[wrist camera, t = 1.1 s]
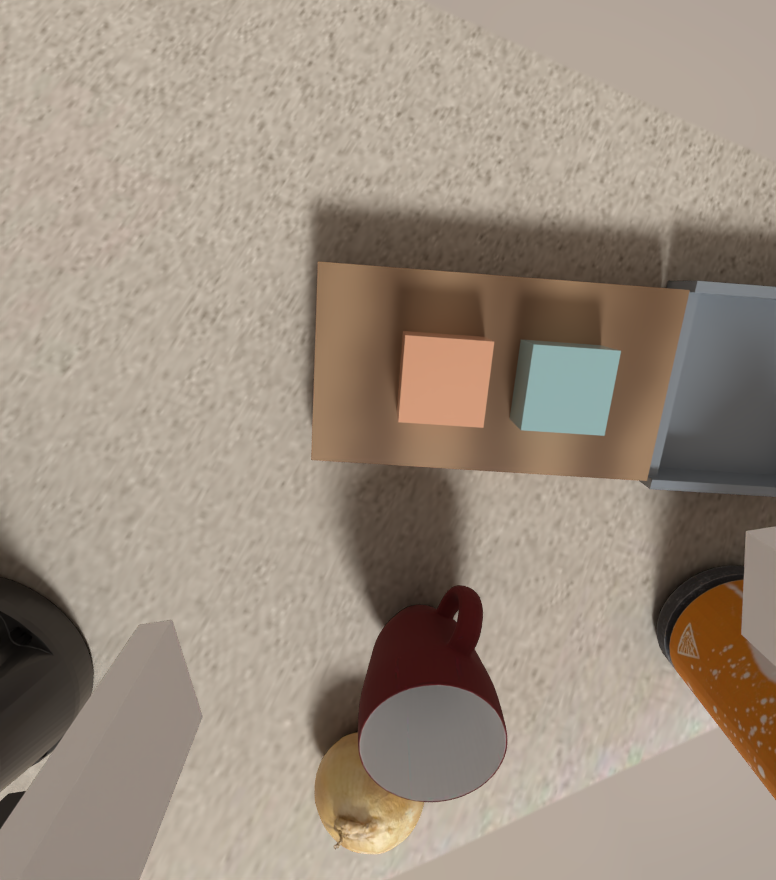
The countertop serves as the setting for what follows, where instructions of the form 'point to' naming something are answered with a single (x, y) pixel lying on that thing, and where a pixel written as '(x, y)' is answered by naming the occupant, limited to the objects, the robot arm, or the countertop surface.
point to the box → (721, 394)
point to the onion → (360, 803)
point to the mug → (431, 704)
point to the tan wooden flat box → (505, 322)
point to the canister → (723, 664)
